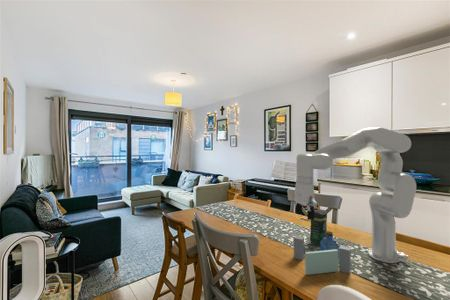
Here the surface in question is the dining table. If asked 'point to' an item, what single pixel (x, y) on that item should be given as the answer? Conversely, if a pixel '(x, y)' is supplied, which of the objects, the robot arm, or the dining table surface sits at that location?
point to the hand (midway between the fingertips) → (304, 216)
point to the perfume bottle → (329, 243)
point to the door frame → (343, 254)
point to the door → (321, 261)
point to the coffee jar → (318, 226)
